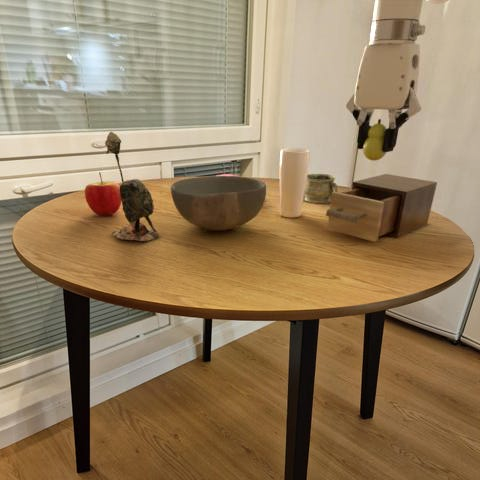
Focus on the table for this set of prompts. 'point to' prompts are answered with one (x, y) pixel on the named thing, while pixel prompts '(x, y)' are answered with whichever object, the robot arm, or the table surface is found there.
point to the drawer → (364, 213)
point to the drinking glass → (293, 180)
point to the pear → (375, 142)
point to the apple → (103, 197)
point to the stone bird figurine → (132, 201)
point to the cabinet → (404, 199)
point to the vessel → (319, 188)
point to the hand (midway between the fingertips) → (375, 148)
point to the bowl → (218, 200)
